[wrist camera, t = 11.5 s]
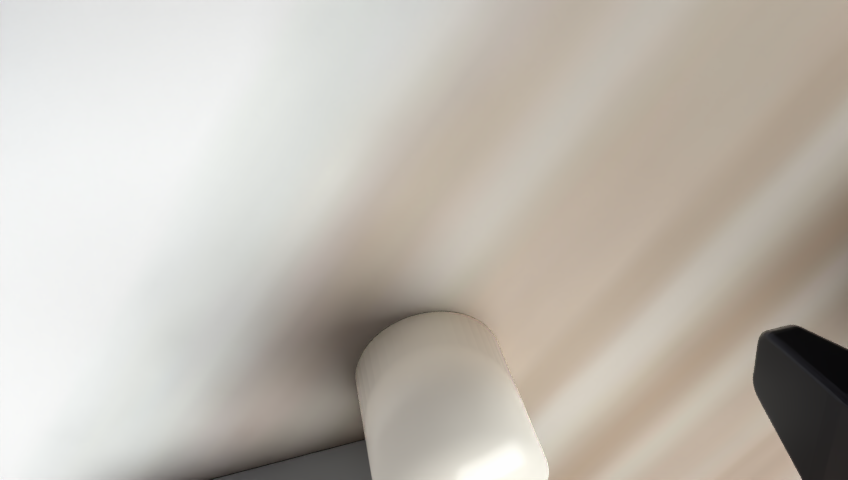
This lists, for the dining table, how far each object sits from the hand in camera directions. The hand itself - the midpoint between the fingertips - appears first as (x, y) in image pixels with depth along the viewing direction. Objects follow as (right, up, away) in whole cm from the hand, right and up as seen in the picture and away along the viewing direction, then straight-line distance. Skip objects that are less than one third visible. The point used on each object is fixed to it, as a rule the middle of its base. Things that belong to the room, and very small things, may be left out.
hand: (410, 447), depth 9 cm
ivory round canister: (0, -2, +16) cm, 16 cm away
